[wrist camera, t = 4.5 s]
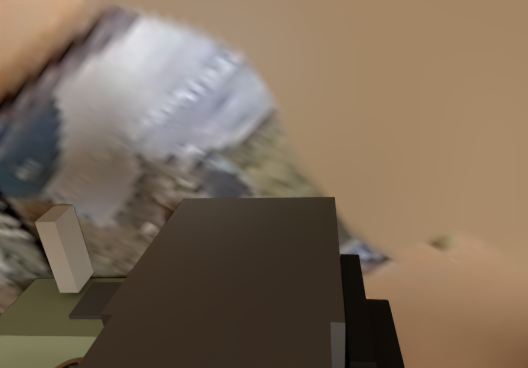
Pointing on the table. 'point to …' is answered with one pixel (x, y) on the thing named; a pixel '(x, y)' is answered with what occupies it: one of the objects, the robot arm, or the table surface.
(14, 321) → the green base with button
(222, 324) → the dark grey block
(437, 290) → the table surface
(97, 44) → the table surface
